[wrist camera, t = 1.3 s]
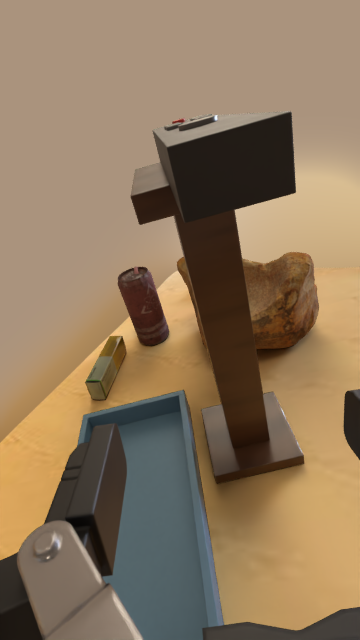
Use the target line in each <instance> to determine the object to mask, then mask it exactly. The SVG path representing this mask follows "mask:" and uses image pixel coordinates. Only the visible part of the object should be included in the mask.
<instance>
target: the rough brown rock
mask: <svg viewBox="0 0 360 640" xmlns="http://www.w3.org/2000/svg"><path fill="white" fill-rule="evenodd" d="M242 261H243V268H244V274H245V281H246V287H247V294H248V300H249V307H250V313H251V320H252V326H253V333H254V339H255V346H256V349H265V348H266V349H277V348H286V347H290V346H293V345H294V344H296V343H297V342H298V341H299V340H300V339H301V338H302V337H304V336H305V335H306V334H307V333H308V332H309V331H310V329H311V328H312V327H313V325H314V324H315V322H316V319H317V316H318V310H319V303H318V297H317V286H316V285H315V284H314V281H315V279H314V264H313V261H312V259H311V257H310V256H309V255H308V254H306V253H299V252H297V253H296V252H290V253H286V254H284V255H283V256H282V257H280V258H279V259H277V260H274V261H271V262H269V263H266V264H263V263H259V262H253V261H249V260H246V259H242ZM177 267H178V271H179V273H180V274H181V276H182V278H183V280H184V282H185V283H186V285H187V287H188V290H189V293H190V296H191V300H192V303H193V305H194V309H195V313H196V317H197V322H198V326H199V330H200V333H201V337H202V340H203V344H204V345H205V347H206V348H207V345H206V342H205V338H204V334H203V330H202V326H201V322H200V318H199V314H198V310H197V306H196V302H195V298H194V294H193V290H192V286H191V282H190V279H189V275H188V271H187V267H186V263H185V259H184V257H182V258H181V259H180V260H179V261H178V262H177Z"/></svg>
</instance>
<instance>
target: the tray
mask: <svg viewBox="0 0 360 640" xmlns="http://www.w3.org/2000/svg"><path fill="white" fill-rule="evenodd" d="M113 423H116V424H117V425H118V428H119V432H120V436H121V440H122V444H123V448H124V452H125V456H126V462H127V479H126V485H125V492H124V499H123V506H122V513H121V520H120V527H119V534H118V541H117V548H116V555H115V561H114V568H113V575H111V576H104V577H102V578H103V579H104V581H105V582H106V584H107V583H110V584H111V586H112V587H113V589H114V590H115V592H116V593H117V595H118V597H119V598H120V600H121V602H122V603H123V605H124V607H125V608H126V610H127V612H128V613H129V615H130V617H131V618H132V620H133V622H134V623H135V625H136V627H137V628H138V630H139V632H140V634H141V635H142V637H143V639H144V640H203V632H202V628H206V627H214V626H221V625H224V622H223V616H222V610H221V603H220V597H219V591H218V585H217V578H216V572H215V566H214V559H213V553H212V547H211V540H210V534H209V528H208V522H207V515H206V509H205V503H204V496H203V490H202V484H201V478H200V471H199V465H198V459H197V452H196V446H195V440H194V433H193V427H192V421H191V415H190V408H189V405H188V401H187V398H186V395H185V392H184V390H181V391H177V392H173V393H169V394H165V395H161V396H157V397H153V398H149V399H145V400H141V401H137V402H133V403H129V404H125V405H121V406H117V407H114V408H110V409H106V410H102V411H98V412H94V413H90V414H86V415H83V420H82V425H81V430H80V435H79V440H78V445H79V444H80V443H86V442H89V440H90V437H91V434H92V431H93V428H94V427H95V426H99V425H106V424H113ZM78 445H77V446H78Z"/></svg>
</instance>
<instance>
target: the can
mask: <svg viewBox="0 0 360 640" xmlns="http://www.w3.org/2000/svg"><path fill="white" fill-rule="evenodd" d="M118 286H119V289H120V292H121V294H122V297H123V299H124V302H125V305H126V307H127V310H128V312H129V315H130V318H131V320H132V323H133V325H134V328H135V331H136V333H137V336H138V338H139V341H140V342H141V343H143V344H144V345H148V346H152V345H157V344H159V343H161V342H163V341H164V340H165V339H166V338H167V337H168V334H169V329H168V325H167V322H166V319H165V316H164V313H163V310H162V307H161V303H160V300H159V297H158V294H157V291H156V288H155V285H154V282H153V278H152V275H151V273H150V272H149V271H148V269H147V268H146V267H134V268H132V269H129V270H126V271H125V272H123V273H121V274H120V275H119V277H118Z"/></svg>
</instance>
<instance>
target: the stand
mask: <svg viewBox="0 0 360 640" xmlns="http://www.w3.org/2000/svg"><path fill="white" fill-rule="evenodd" d="M131 199H132V203H133V206H134V209H135V212H136V215H137V218H138V222H139V224H140V225H142V224H145V223H149V222H152V221H156V220H159V219H163V218H167V217H170V216H174V219H175V223H176V227H177V231H178V235H179V239H180V243H181V247H182V250H183V255H184V259H185V263H186V267H187V271H188V275H189V279H190V282H191V286H192V290H193V294H194V298H195V302H196V306H197V310H198V314H199V318H200V322H201V326H202V330H203V334H204V338H205V342H206V345H207V349H208V353H209V357H210V361H211V365H212V369H213V373H214V377H215V381H216V385H217V389H218V393H219V397H220V401H221V404H220V405H216V406H212V407H208V408H204V409H201V411H202V416H203V421H204V427H205V432H206V437H207V442H208V447H209V452H210V457H211V462H212V467H213V472H214V477H215V480H216V483H217V484H219V483H223V482H227V481H231V480H236V479H240V478H244V477H248V476H253V475H257V474H261V473H265V472H270V471H274V470H278V469H282V468H287V467H291V466H295V465H299V464H303V463H304V455H303V453H302V451H301V449H300V447H299V445H298V442H297V440H296V438H295V436H294V434H293V432H292V430H291V428H290V426H289V424H288V421H287V419H286V417H285V415H284V413H283V411H282V409H281V407H280V405H279V403H278V400H277V398H276V396H275V394H274V392H268V393H264V394H263V391H262V385H261V378H260V372H259V365H258V359H257V352H256V346H255V339H254V333H253V326H252V320H251V313H250V307H249V300H248V294H247V287H246V281H245V274H244V268H243V261H242V255H241V249H240V242H239V236H238V229H237V223H236V217H235V210H232V211H228V212H224V213H221V214H217V215H214V216H210V217H206V218H203V219H199V220H195V221H192V222H188V223H184V220H183V218H182V215H181V213H180V210H179V208H178V205H177V203H176V200H175V198H174V195H173V192H172V190H171V187H170V185H169V182H168V180H167V177H166V175H165V172H164V170H163V167H162V165H161V162H160V163H157V164H153V165H149V166H146V167H142V168H139V169H136V170H135V174H134V180H133V186H132V192H131Z"/></svg>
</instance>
